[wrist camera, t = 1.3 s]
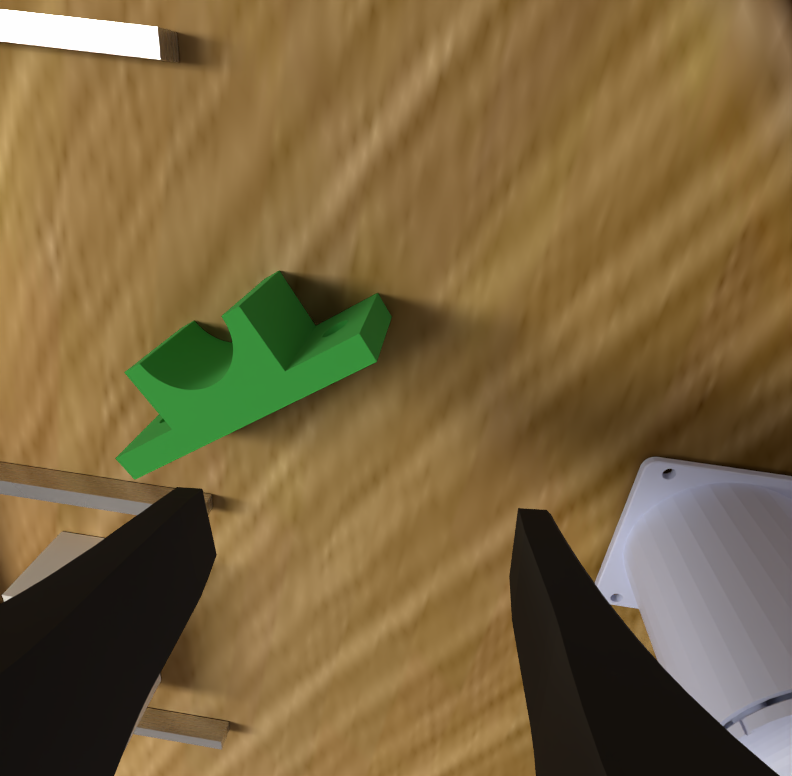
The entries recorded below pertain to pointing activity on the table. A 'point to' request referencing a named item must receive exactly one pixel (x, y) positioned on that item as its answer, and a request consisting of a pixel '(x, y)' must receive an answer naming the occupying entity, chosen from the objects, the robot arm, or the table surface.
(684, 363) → the table surface
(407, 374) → the table surface
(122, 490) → the grey pronged frame
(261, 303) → the pipe clamp
